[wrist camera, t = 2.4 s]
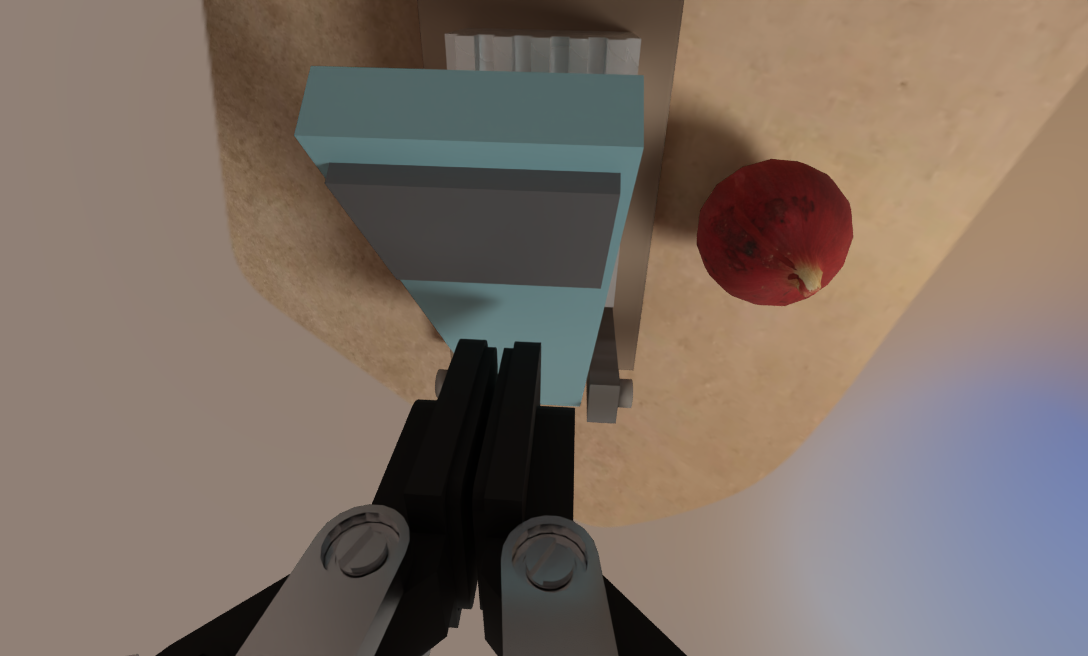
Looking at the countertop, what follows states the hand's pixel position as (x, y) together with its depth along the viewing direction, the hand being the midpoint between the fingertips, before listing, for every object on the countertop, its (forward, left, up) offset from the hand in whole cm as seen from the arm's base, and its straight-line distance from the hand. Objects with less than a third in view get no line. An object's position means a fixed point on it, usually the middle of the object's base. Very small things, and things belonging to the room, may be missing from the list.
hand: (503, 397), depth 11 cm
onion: (+1, +10, -16) cm, 19 cm away
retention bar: (0, 0, -4) cm, 4 cm away
